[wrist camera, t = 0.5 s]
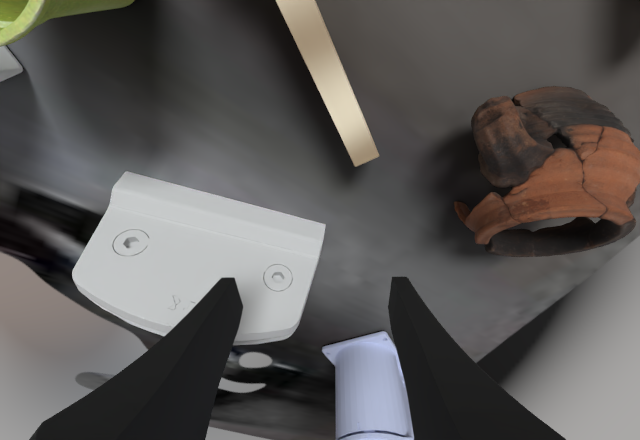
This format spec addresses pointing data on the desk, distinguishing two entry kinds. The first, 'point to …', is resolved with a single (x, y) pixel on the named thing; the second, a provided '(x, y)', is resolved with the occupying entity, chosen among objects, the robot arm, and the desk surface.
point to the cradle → (329, 76)
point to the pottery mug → (552, 173)
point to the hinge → (197, 258)
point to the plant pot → (44, 14)
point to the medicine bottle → (8, 64)
